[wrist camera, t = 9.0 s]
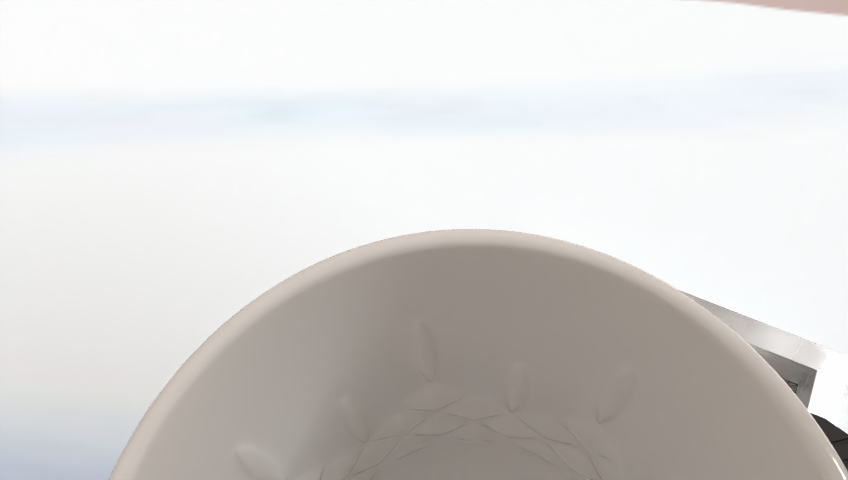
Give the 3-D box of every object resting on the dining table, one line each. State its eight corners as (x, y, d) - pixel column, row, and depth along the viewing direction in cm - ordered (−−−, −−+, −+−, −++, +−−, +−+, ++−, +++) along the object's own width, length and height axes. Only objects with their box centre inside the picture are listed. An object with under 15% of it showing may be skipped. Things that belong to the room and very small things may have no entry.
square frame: (537, 255, 34) (540, 236, 32) (831, 372, 30) (852, 357, 28) (407, 520, 28) (402, 514, 26) (751, 713, 24) (772, 721, 22)
